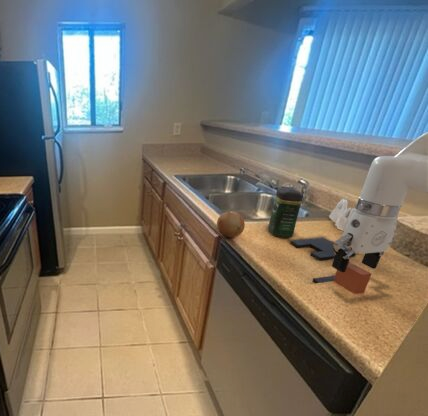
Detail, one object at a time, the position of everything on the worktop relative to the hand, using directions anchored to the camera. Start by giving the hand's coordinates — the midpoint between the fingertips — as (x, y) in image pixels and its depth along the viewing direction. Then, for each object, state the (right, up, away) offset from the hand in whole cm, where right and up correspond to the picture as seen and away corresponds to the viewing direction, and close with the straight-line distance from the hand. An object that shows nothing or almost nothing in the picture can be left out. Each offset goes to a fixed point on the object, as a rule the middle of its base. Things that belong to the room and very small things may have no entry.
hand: (353, 267), depth 73 cm
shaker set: (+32, +8, +41) cm, 52 cm away
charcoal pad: (+10, +1, +23) cm, 25 cm away
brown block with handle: (+2, -7, +3) cm, 8 cm away
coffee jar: (+3, +6, +35) cm, 36 cm away
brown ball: (-18, +5, +34) cm, 38 cm away
